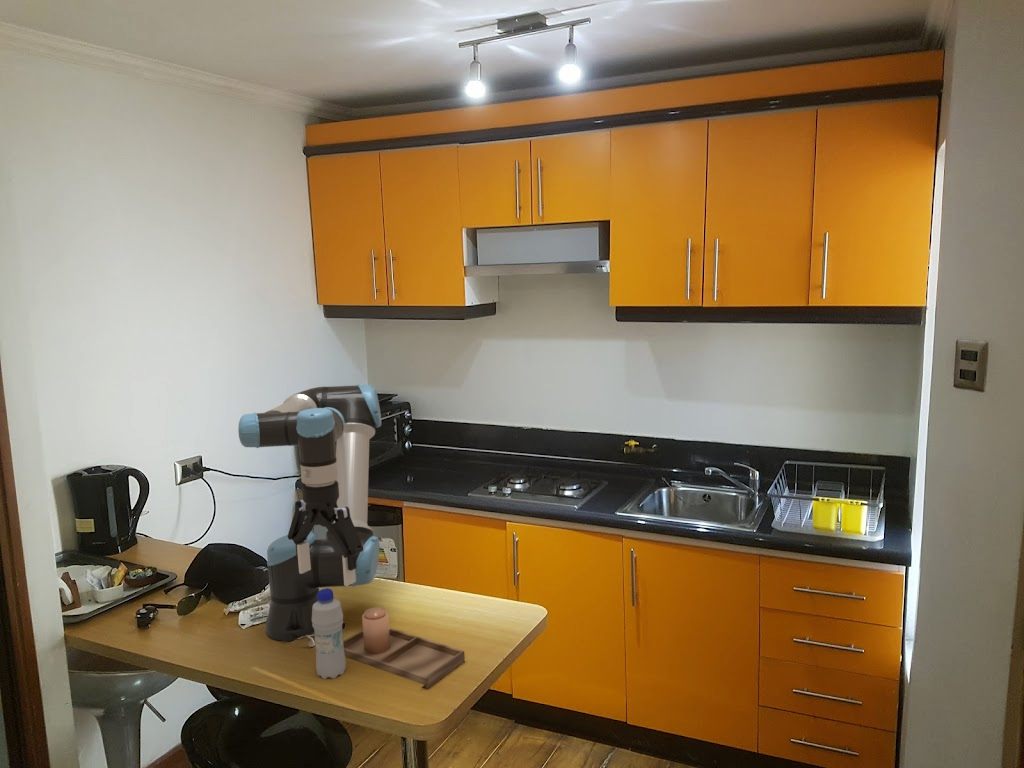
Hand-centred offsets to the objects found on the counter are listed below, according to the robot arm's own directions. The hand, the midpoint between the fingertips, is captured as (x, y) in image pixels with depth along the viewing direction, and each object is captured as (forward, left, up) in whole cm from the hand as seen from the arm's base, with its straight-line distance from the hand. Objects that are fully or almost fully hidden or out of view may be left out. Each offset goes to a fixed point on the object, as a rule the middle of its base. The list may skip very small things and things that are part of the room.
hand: (327, 577), depth 164 cm
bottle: (0, -1, -23) cm, 23 cm away
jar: (+1, +12, -22) cm, 25 cm away
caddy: (+8, +12, -23) cm, 27 cm away
